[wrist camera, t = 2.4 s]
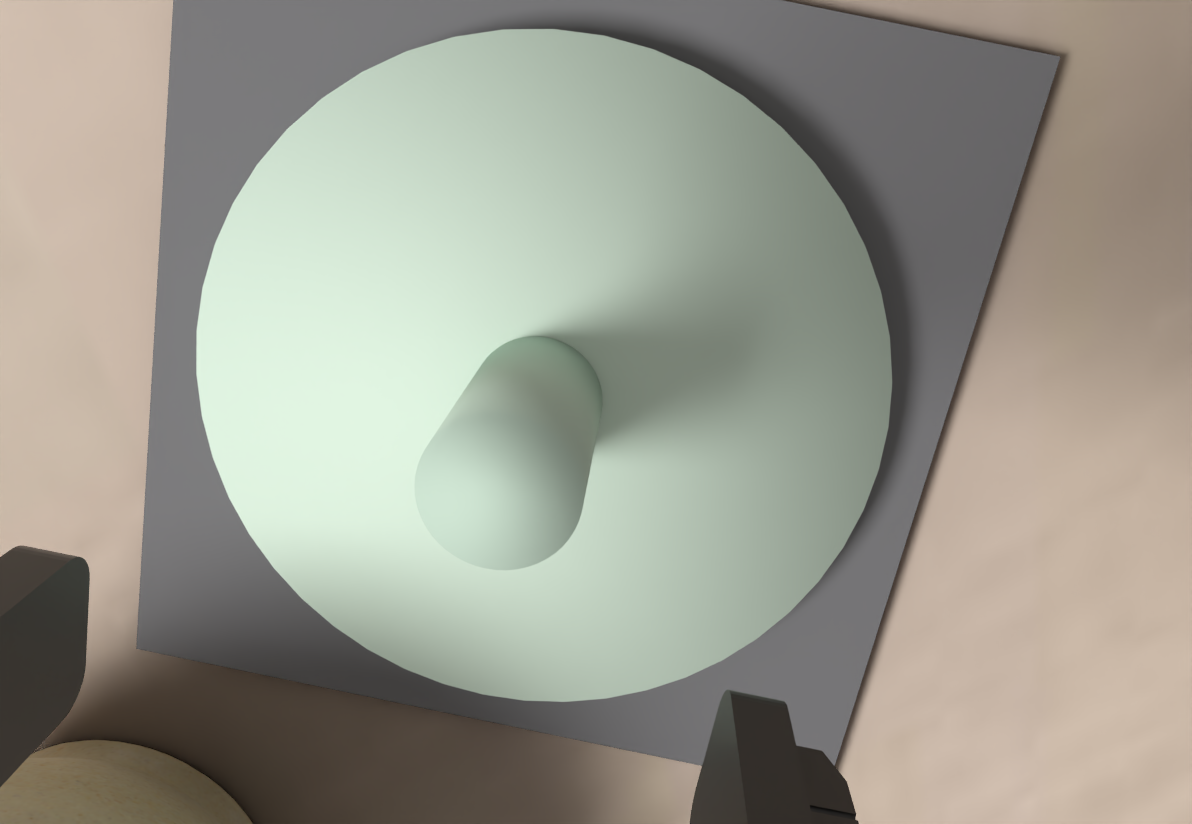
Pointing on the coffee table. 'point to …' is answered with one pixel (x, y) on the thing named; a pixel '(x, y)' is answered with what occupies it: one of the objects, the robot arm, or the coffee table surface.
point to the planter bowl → (112, 788)
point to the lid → (544, 365)
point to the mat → (778, 88)
